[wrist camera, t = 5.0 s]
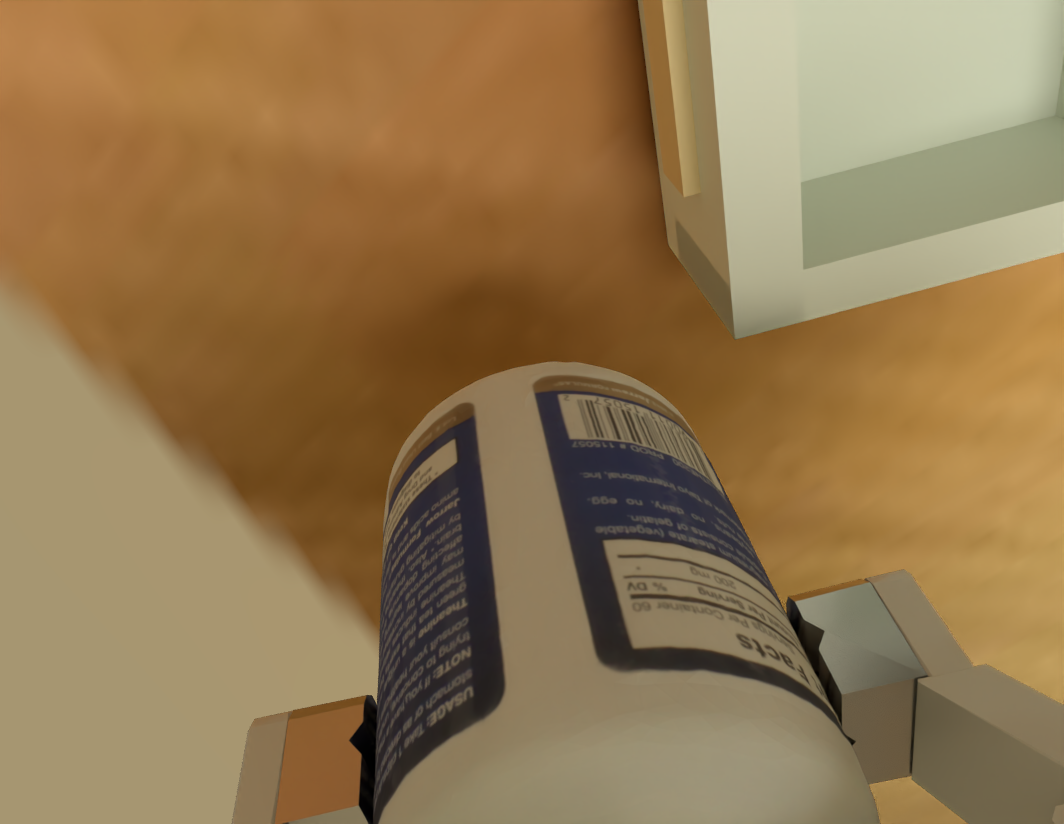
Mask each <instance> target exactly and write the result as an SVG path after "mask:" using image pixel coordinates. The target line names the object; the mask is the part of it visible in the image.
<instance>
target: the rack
mask: <svg viewBox="0 0 1064 824" xmlns="http://www.w3.org/2000/svg"><path fill="white" fill-rule="evenodd" d="M638 6H639V14H640V23H641V31H642V39H643V47H644V55H645V63H646V71H647V79H648V87H649V95H650V103H651V111H652V119H653V127H654V135H655V143H656V151H657V159H658V167H659V175H660V183H661V191H662V199H663V207H664V215H665V223H666V231H667V239H668V245H669V247H670V248H671V250H672V251H673V253H674V254H675V255H676V257H677V258H678V260H679V261H680V262H681V264H682V265H683V267H684V268H685V270H686V271H687V272H688V274H689V275H690V277H691V278H692V279H693V281H694V282H695V284H696V285H697V287H698V288H699V289H700V291H701V292H702V294H703V295H704V296H705V298H706V299H707V301H708V302H709V304H710V305H711V306H712V308H713V309H714V311H715V312H716V314H717V315H718V316H719V318H720V319H721V321H722V322H723V323H724V325H725V326H726V328H727V329H728V331H729V332H730V333H731V335H732V336H733V338H734V339H735V340H736V339H740V338H743V337H747V336H751V335H755V334H758V333H762V332H766V331H770V330H773V329H777V328H781V327H785V326H789V325H792V324H796V323H800V322H804V321H807V320H811V319H815V318H819V317H822V316H826V315H830V314H834V313H837V312H841V311H845V310H849V309H852V308H856V307H860V306H864V305H867V304H871V303H875V302H879V301H883V300H886V299H890V298H894V297H898V296H901V295H905V294H909V293H913V292H916V291H920V290H924V289H928V288H931V287H935V286H939V285H943V284H946V283H950V282H954V281H958V280H962V279H965V278H969V277H973V276H977V275H980V274H984V273H988V272H992V271H995V270H999V269H1003V268H1007V267H1010V266H1014V265H1018V264H1022V263H1025V262H1029V261H1033V260H1037V259H1040V258H1044V257H1048V256H1052V255H1056V254H1059V253H1063V252H1064V0H638Z"/></svg>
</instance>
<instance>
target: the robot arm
mask: <svg viewBox="0 0 1064 824" xmlns="http://www.w3.org/2000/svg"><path fill="white" fill-rule="evenodd" d="M786 608H787V617H788V619H789V621H790V623H791V625H792V627H793V629H794V631H795V633H796V635H797V637H798V639H799V641H800V643H801V645H802V647H803V649H804V651H805V653H806V656H807V657H808V659H809V661H810V663H811V665H812V667H813V669H814V672H815V674H816V676H817V677H818V679H819V681H820V683H821V685H822V687H823V689H824V691H825V693H826V695H827V698H828V700H829V702H830V704H831V706H832V708H833V709H834V711H835V713H836V715H837V717H838V719H839V722H840V724H841V727H842V729H843V732H844V733H845V735H846V736H847V738H848V740H849V741H850V743H851V745H852V747H853V749H854V751H855V753H856V755H857V758H858V761H859V763H860V766H861V769H862V771H863V773H864V776H865V778H866V780H867V782H868V784H873V783H878V782H883V781H888V780H893V779H898V778H903V777H908V776H912V780H913V781H915V782H916V783H917V784H918V785H920V786H921V787H922V788H924V789H925V790H926V791H927V792H929V793H930V794H931V795H933V796H934V797H935V798H936V799H938V800H939V801H940V802H942V803H943V804H944V805H945V806H947V807H948V808H949V809H951V810H952V811H953V812H954V813H956V814H957V815H958V816H960V817H961V818H962V819H963V820H965V821H966V822H967V823H969V824H1064V705H1063V704H1061V703H1059V702H1057V701H1055V700H1053V699H1052V698H1050V697H1048V696H1046V695H1044V694H1042V693H1040V692H1038V691H1036V690H1035V689H1033V688H1031V687H1029V686H1027V685H1025V684H1023V683H1021V682H1019V681H1018V680H1016V679H1014V678H1012V677H1010V676H1008V675H1006V674H1004V673H1002V672H1001V671H999V670H997V669H995V668H993V667H991V666H989V665H987V664H984V665H979V666H974V665H973V664H972V662H971V661H970V659H969V658H968V656H967V655H966V653H965V652H964V650H963V649H962V648H961V646H960V645H959V643H958V642H957V640H956V639H955V637H954V636H953V634H952V633H951V631H950V630H949V629H948V627H947V626H946V624H945V623H944V621H943V620H942V618H941V617H940V615H939V614H938V613H937V611H936V610H935V608H934V607H933V605H932V604H931V602H930V601H929V599H928V598H927V596H926V595H925V594H924V592H923V591H922V589H921V588H920V586H919V585H918V583H917V582H916V580H915V579H914V577H913V576H912V575H911V574H910V573H909V572H907V571H906V570H904V569H903V570H899V571H895V572H890V573H886V574H882V575H877V576H873V577H869V578H865V579H864V580H863V579H858V580H854V581H850V582H846V583H842V584H838V585H834V586H830V587H826V588H821V589H817V590H813V591H809V592H805V593H801V594H797V595H793V596H789V597H788V599H787V603H786ZM376 731H377V704H376V702H375V700H374V699H373V697H372V695H366V696H361V697H356V698H351V699H346V700H341V701H336V702H331V703H326V704H322V705H317V706H312V707H307V708H302V709H297V710H293V711H289V712H285V713H280V714H276V715H270V716H266V717H261V718H257V719H254V721H253V723H252V725H251V727H250V729H249V730H248V735H247V740H246V746H245V751H244V757H243V762H242V768H241V774H240V780H239V786H238V791H237V796H236V802H235V808H234V813H233V819H232V824H373V798H374V787H375V755H376Z"/></svg>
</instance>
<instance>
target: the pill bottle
mask: <svg viewBox="0 0 1064 824" xmlns="http://www.w3.org/2000/svg"><path fill="white" fill-rule="evenodd" d="M382 563H383V566H382V571H383V573H382V585H381V613H380V646H379V676H378V695H377V731H376V755H375V787H374V798H373V824H880V820H879V816H878V812H877V808H876V804H875V800H874V797H873V795H872V792H871V790H870V787H869V785H868V782H867V780H866V778H865V776H864V773H863V771H862V769H861V766H860V763H859V761H858V758H857V755H856V753H855V751H854V749H853V747H852V745H851V743H850V741H849V740H848V738H847V736H846V735H845V733H844V732H843V729H842V727H841V724H840V722H839V719H838V717H837V715H836V713H835V711H834V709H833V708H832V706H831V704H830V702H829V700H828V698H827V695H826V693H825V691H824V689H823V687H822V685H821V683H820V681H819V679H818V677H817V676H816V674H815V672H814V669H813V667H812V665H811V663H810V661H809V659H808V657H807V656H806V653H805V651H804V649H803V647H802V645H801V643H800V641H799V639H798V637H797V635H796V633H795V631H794V629H793V627H792V625H791V623H790V621H789V619H788V617H787V615H786V613H785V611H784V609H783V607H782V605H781V603H780V600H779V598H778V596H777V594H776V592H775V590H774V588H773V586H772V584H771V583H770V581H769V579H768V577H767V575H766V573H765V570H764V568H763V566H762V564H761V562H760V561H759V559H758V557H757V555H756V553H755V550H754V548H753V546H752V544H751V542H750V540H749V538H748V536H747V534H746V532H745V530H744V528H743V526H742V524H741V522H740V520H739V518H738V516H737V514H736V512H735V510H734V508H733V506H732V504H731V503H730V501H729V499H728V497H727V495H726V493H725V491H724V489H723V487H722V485H721V483H720V481H719V478H718V477H717V475H716V473H715V471H714V469H713V467H712V465H711V463H710V461H709V460H708V458H707V456H706V455H705V453H704V452H703V450H702V448H701V446H700V443H699V441H698V439H697V437H696V436H695V434H694V432H693V430H692V429H691V427H690V426H689V424H688V423H687V421H686V420H685V419H684V417H683V416H682V415H681V413H680V412H679V411H678V410H677V409H676V408H675V407H674V405H672V404H671V403H670V402H669V401H668V400H667V399H665V398H664V397H663V396H662V395H660V394H659V393H658V392H656V391H655V390H653V389H652V388H651V387H649V386H647V385H645V384H644V383H642V382H640V381H638V380H637V379H634V378H632V377H630V376H628V375H625V374H623V373H620V372H617V371H614V370H611V369H607V368H603V367H598V366H594V365H589V364H585V363H579V362H557V361H552V362H545V363H539V364H533V365H527V366H522V367H516V368H512V369H509V370H505V371H502V372H499V373H495V374H492V375H489V376H487V377H485V378H482V379H480V380H477V381H475V382H474V383H472V384H470V385H468V386H466V387H464V388H462V389H461V390H459V391H457V392H456V393H454V394H453V395H451V396H450V397H448V398H447V399H445V400H443V401H442V402H441V403H440V404H438V405H437V406H436V407H435V408H433V409H432V410H431V411H430V412H429V413H428V414H427V415H426V416H425V417H424V419H423V420H422V421H421V422H420V423H419V424H418V426H417V427H416V428H415V429H414V431H413V432H412V433H411V434H410V436H409V437H408V438H407V439H406V441H405V443H404V444H403V446H402V448H401V450H400V452H399V454H398V456H397V458H396V461H395V463H394V465H393V469H392V472H391V475H390V478H389V484H388V490H387V497H386V504H385V513H384V524H383V556H382Z"/></svg>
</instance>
